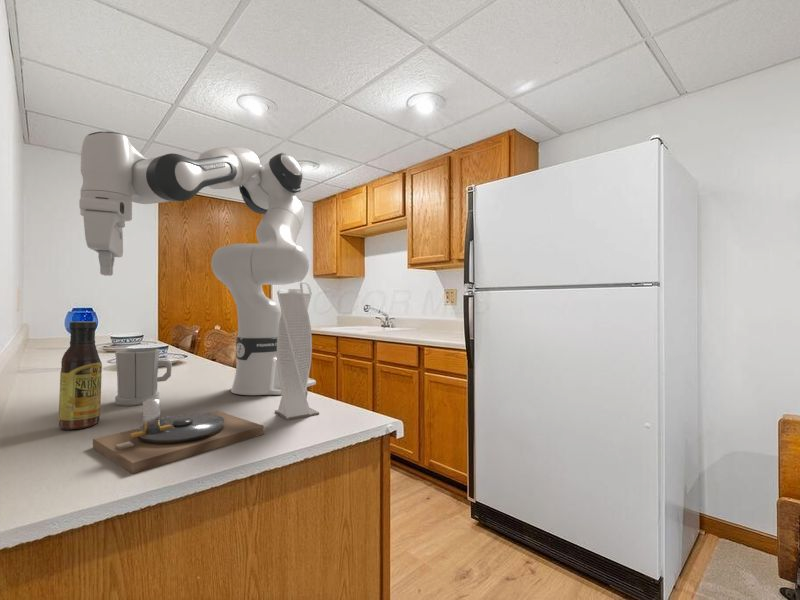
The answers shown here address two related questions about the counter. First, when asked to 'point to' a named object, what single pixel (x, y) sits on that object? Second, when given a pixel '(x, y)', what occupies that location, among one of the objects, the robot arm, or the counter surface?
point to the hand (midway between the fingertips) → (106, 275)
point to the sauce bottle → (80, 379)
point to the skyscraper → (294, 353)
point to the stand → (171, 444)
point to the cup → (139, 375)
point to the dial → (175, 425)
